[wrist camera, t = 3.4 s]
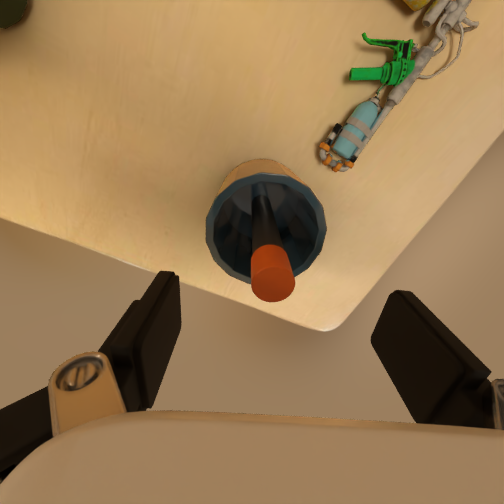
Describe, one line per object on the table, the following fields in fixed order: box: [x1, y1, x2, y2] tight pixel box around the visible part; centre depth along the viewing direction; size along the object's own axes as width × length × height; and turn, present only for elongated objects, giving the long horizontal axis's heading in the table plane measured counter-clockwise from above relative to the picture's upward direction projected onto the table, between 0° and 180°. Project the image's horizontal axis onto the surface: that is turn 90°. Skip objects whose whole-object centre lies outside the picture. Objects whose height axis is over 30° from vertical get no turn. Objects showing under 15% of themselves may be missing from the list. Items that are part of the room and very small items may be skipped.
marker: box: [251, 195, 295, 302], centre depth 18 cm, size 2×2×14 cm
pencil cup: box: [206, 159, 327, 284], centre depth 21 cm, size 9×9×9 cm
